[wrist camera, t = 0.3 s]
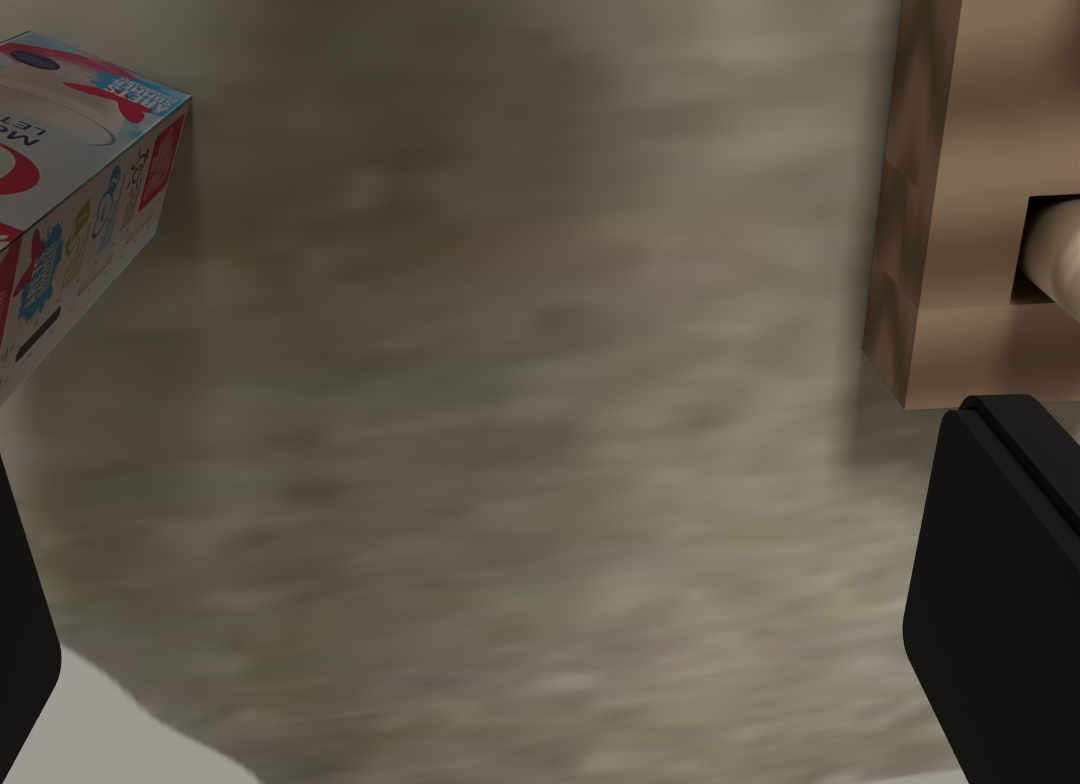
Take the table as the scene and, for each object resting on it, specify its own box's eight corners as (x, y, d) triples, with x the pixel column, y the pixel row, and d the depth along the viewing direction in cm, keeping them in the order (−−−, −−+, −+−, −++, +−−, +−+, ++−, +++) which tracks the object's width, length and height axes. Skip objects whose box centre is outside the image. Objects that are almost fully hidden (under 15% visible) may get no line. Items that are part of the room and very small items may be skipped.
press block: (945, -366, 36) (1018, -400, 31) (1285, -384, 36) (1417, -421, 31) (862, 349, 50) (904, 410, 44) (1111, 336, 50) (1183, 395, 44)
